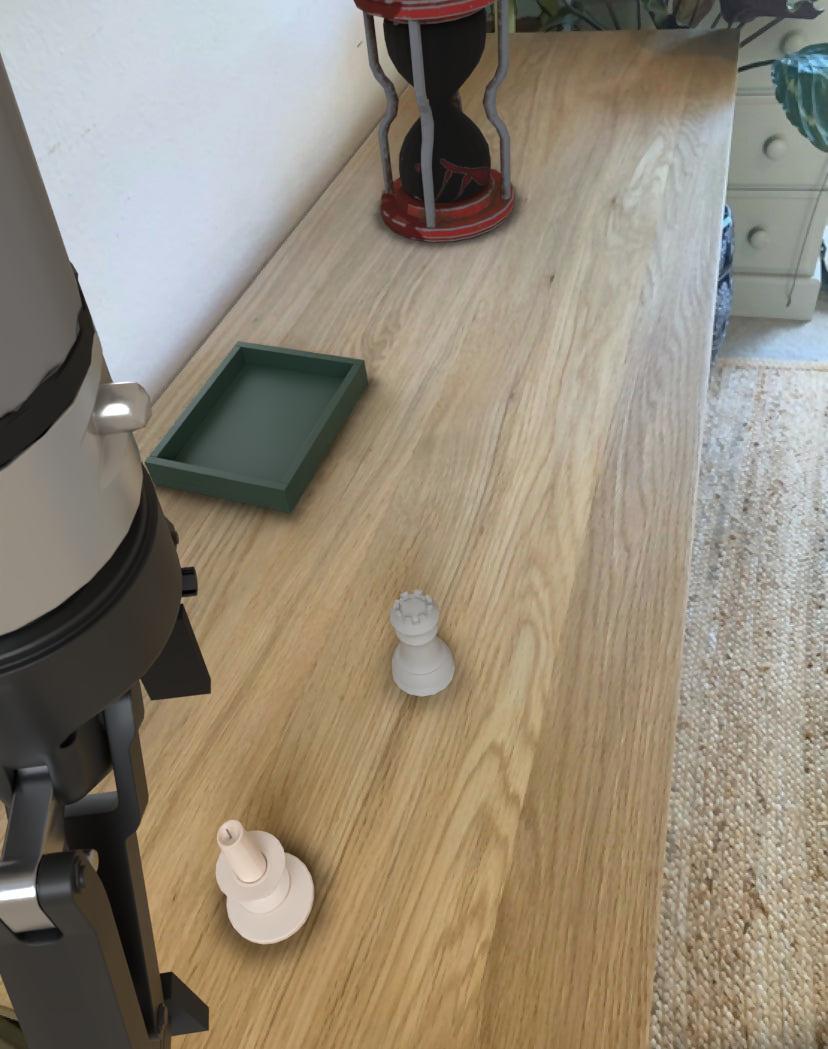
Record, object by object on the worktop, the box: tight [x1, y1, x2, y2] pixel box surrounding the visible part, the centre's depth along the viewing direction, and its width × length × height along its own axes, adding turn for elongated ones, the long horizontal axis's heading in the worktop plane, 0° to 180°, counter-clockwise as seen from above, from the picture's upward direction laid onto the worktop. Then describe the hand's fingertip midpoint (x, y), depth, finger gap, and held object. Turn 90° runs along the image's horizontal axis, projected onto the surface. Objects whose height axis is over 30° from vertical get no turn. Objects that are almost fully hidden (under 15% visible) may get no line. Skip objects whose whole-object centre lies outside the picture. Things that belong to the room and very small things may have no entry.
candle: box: [215, 819, 315, 945], centre depth 47 cm, size 5×5×10 cm
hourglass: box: [353, 0, 515, 243], centre depth 94 cm, size 16×16×25 cm
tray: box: [143, 340, 369, 514], centre depth 78 cm, size 18×14×3 cm
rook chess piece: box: [389, 589, 456, 697], centre depth 57 cm, size 4×4×8 cm
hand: (177, 838), depth 35 cm, fingers open, 13 cm apart
